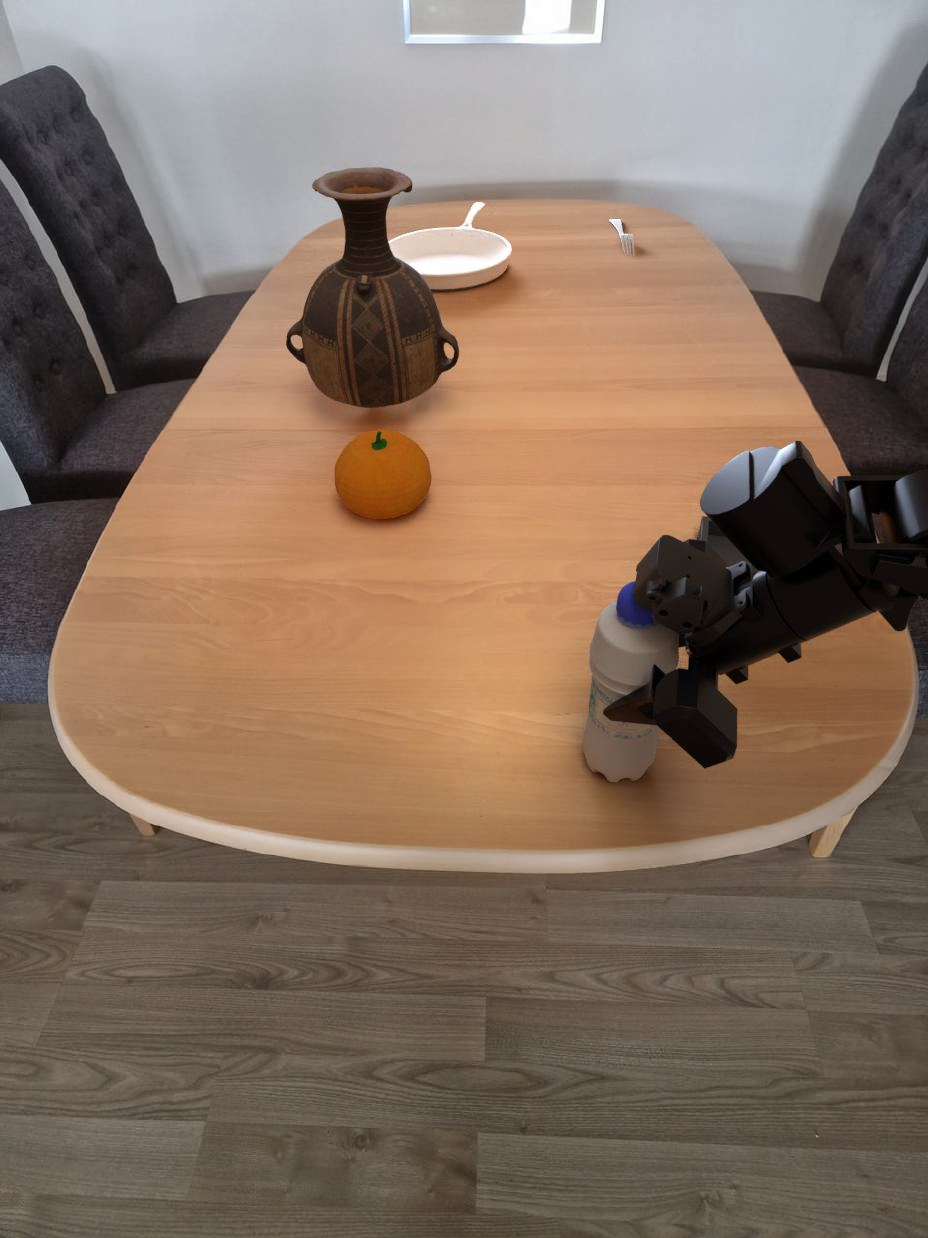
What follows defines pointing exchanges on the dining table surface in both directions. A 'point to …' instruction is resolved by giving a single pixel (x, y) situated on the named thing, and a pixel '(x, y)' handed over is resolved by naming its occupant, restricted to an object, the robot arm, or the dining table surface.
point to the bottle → (624, 685)
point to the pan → (454, 254)
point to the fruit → (382, 474)
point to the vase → (370, 305)
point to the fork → (618, 225)
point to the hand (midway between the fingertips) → (611, 684)
